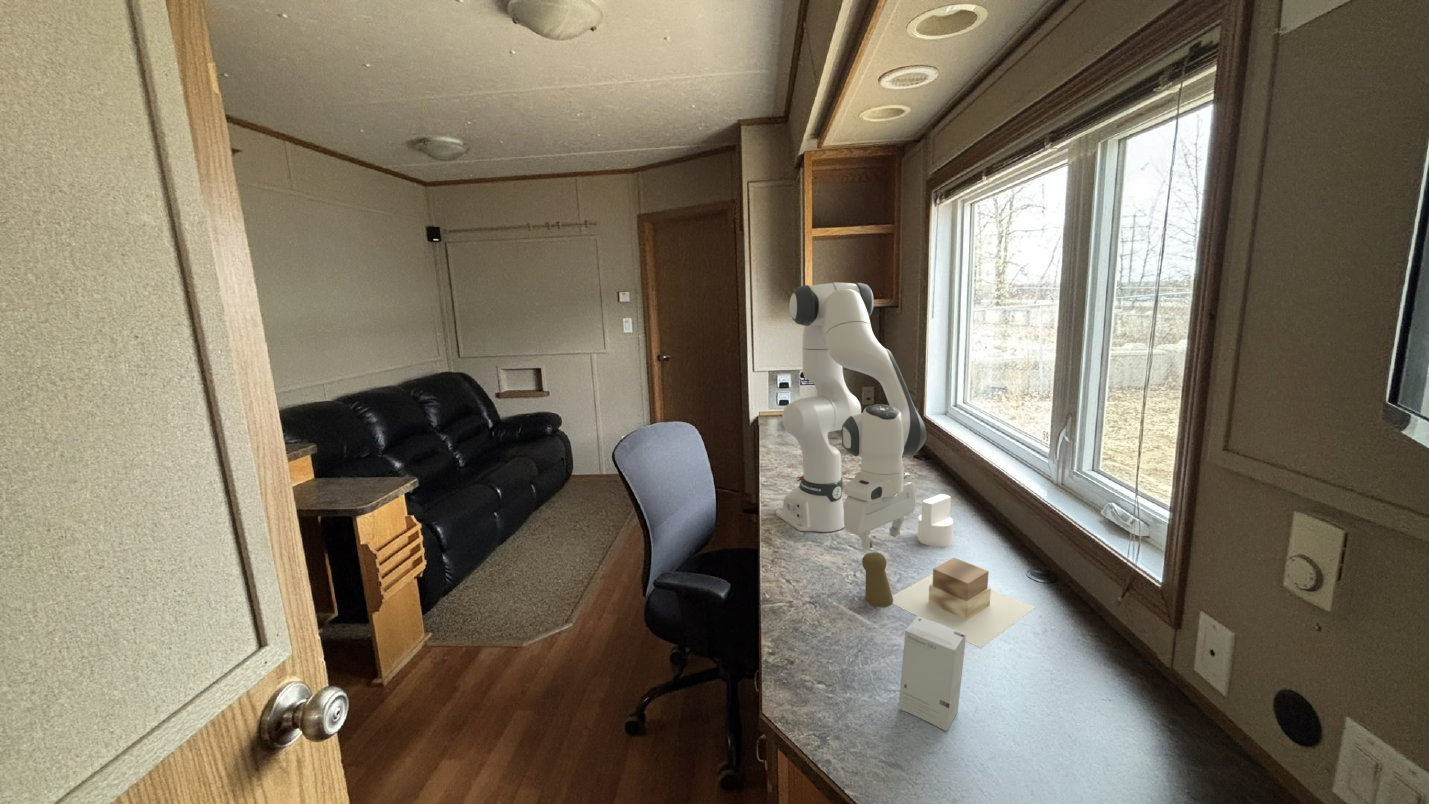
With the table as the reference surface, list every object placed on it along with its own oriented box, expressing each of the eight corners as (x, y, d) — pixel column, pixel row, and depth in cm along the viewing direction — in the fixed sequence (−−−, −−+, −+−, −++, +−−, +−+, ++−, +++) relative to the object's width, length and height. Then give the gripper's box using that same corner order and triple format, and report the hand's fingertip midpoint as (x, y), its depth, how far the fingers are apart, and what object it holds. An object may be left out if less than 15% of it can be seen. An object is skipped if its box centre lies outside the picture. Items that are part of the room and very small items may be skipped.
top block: (932, 585, 122) (933, 568, 121) (953, 573, 126) (953, 557, 126) (967, 601, 115) (968, 583, 115) (987, 588, 120) (988, 571, 119)
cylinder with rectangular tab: (930, 529, 160) (932, 490, 157) (959, 540, 152) (961, 499, 150) (910, 538, 155) (912, 497, 152) (939, 550, 147) (941, 507, 145)
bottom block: (928, 601, 123) (929, 585, 122) (951, 588, 128) (952, 572, 127) (967, 620, 116) (968, 603, 115) (989, 605, 121) (990, 588, 120)
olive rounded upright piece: (894, 607, 121) (888, 561, 119) (866, 608, 122) (860, 563, 120) (891, 591, 127) (886, 547, 125) (864, 593, 128) (858, 549, 126)
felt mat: (885, 602, 124) (885, 599, 124) (941, 570, 137) (942, 568, 137) (980, 651, 107) (980, 648, 107) (1035, 610, 119) (1035, 607, 119)
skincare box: (898, 709, 93) (900, 630, 90) (911, 689, 97) (914, 613, 94) (950, 734, 88) (954, 650, 85) (962, 711, 92) (966, 631, 89)
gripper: (899, 467, 127) (898, 524, 130) (838, 488, 116) (838, 550, 118) (923, 473, 122) (922, 532, 125) (862, 496, 111) (862, 560, 113)
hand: (881, 541), depth 121 cm, fingers open, 8 cm apart
